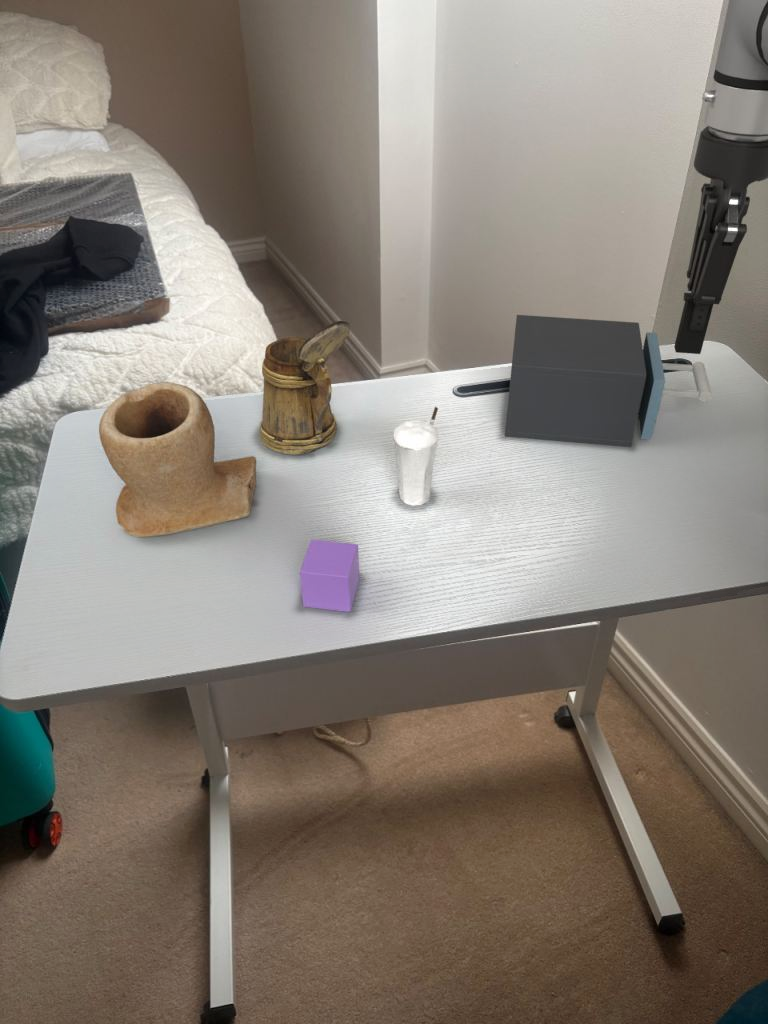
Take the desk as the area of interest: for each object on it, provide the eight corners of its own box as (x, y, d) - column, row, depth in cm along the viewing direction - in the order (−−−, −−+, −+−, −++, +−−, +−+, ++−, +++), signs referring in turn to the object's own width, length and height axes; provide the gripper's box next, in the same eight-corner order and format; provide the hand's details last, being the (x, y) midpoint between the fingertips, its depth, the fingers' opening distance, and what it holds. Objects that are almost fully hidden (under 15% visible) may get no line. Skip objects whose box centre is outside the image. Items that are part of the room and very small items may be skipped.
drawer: (692, 392, 104) (707, 336, 99) (704, 444, 95) (721, 385, 90) (536, 380, 106) (543, 325, 101) (533, 429, 98) (541, 371, 93)
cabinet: (624, 391, 106) (638, 322, 100) (630, 447, 96) (646, 374, 90) (510, 382, 108) (516, 314, 102) (504, 436, 98) (511, 365, 92)
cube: (359, 578, 80) (358, 543, 77) (350, 612, 76) (348, 577, 74) (314, 573, 80) (311, 539, 78) (303, 606, 77) (299, 571, 74)
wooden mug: (311, 484, 92) (298, 336, 80) (246, 431, 100) (227, 290, 88) (374, 454, 96) (371, 309, 84) (307, 405, 104) (296, 268, 93)
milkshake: (449, 493, 90) (453, 415, 84) (415, 515, 87) (416, 436, 81) (419, 475, 93) (421, 398, 86) (385, 496, 90) (384, 418, 83)
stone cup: (119, 564, 82) (82, 438, 72) (119, 492, 91) (86, 371, 81) (271, 539, 84) (256, 414, 75) (257, 471, 93) (241, 352, 84)
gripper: (693, 110, 85) (648, 321, 100) (710, 148, 75) (658, 376, 90) (770, 113, 84) (713, 326, 99) (798, 152, 74) (730, 382, 89)
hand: (687, 349), depth 94 cm, fingers closed
